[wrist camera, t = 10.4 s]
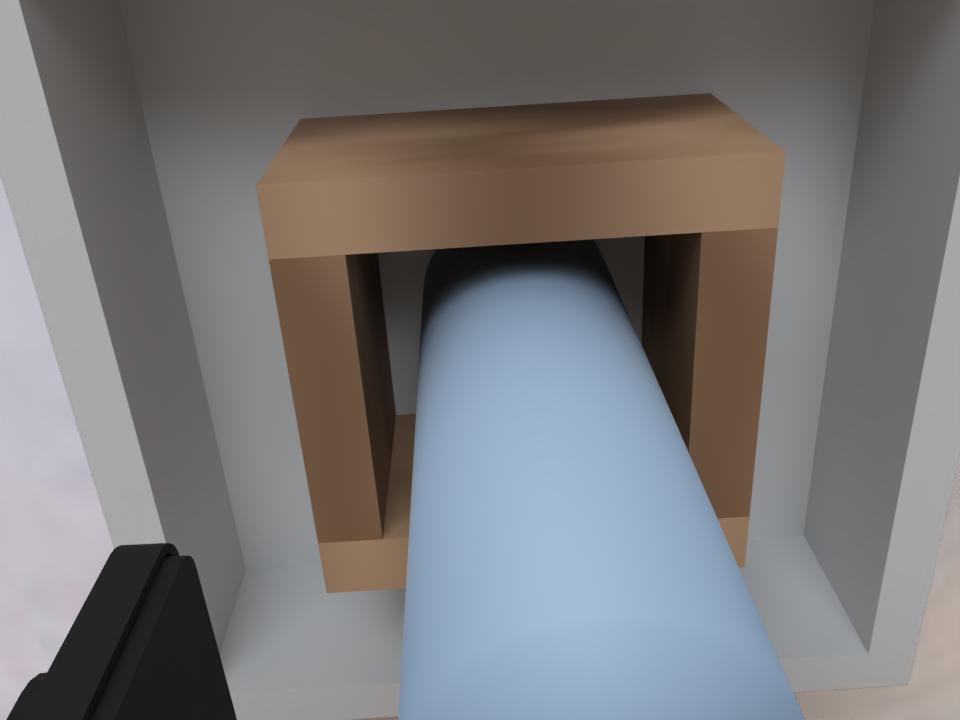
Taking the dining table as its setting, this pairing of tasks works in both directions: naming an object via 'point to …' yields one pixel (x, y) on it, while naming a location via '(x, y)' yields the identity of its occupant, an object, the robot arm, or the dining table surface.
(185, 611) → the robot arm
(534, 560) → the peg
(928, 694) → the dining table surface
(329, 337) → the socket
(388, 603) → the box
